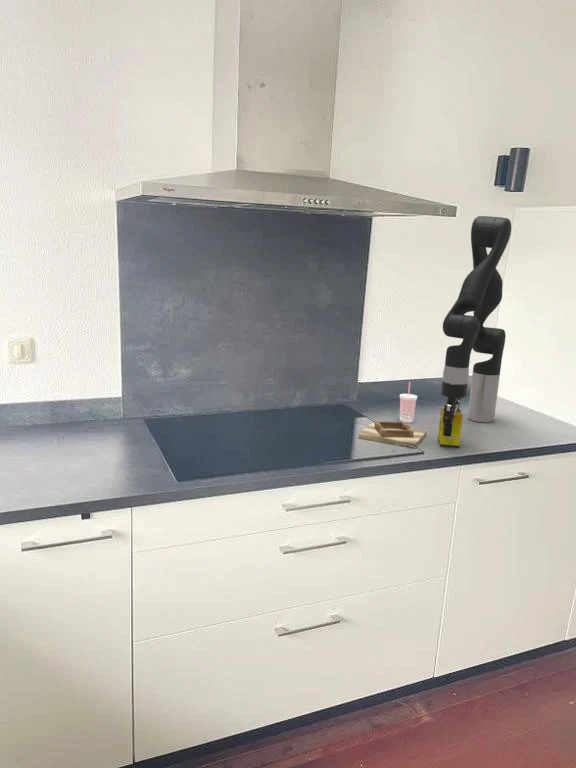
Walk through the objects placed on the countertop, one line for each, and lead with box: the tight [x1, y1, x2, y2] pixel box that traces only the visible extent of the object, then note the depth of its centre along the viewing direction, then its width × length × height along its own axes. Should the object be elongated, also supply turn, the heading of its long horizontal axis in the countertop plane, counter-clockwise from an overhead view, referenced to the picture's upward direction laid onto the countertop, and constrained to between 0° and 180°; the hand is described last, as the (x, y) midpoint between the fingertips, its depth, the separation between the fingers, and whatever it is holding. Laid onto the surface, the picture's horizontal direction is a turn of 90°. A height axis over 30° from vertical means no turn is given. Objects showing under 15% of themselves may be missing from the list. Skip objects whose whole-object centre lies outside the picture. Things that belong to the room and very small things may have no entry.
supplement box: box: [437, 407, 464, 449], centre depth 182 cm, size 6×6×11 cm
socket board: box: [358, 421, 427, 448], centre depth 188 cm, size 15×18×4 cm
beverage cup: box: [399, 381, 418, 423], centre depth 206 cm, size 6×6×14 cm
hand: (449, 432), depth 182 cm, fingers closed on supplement box, 7 cm apart
